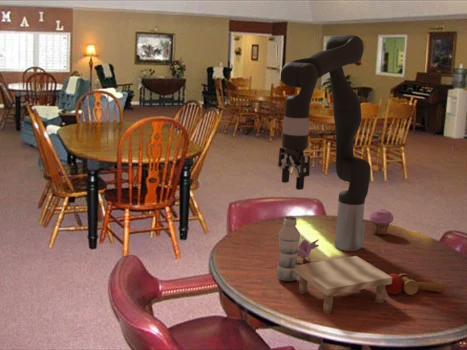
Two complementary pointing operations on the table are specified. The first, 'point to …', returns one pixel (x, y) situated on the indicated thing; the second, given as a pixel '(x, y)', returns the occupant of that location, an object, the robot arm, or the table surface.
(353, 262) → the footstool
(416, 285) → the kendama
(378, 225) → the cupcake
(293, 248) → the plastic bottle
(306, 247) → the lily
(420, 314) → the table surface
